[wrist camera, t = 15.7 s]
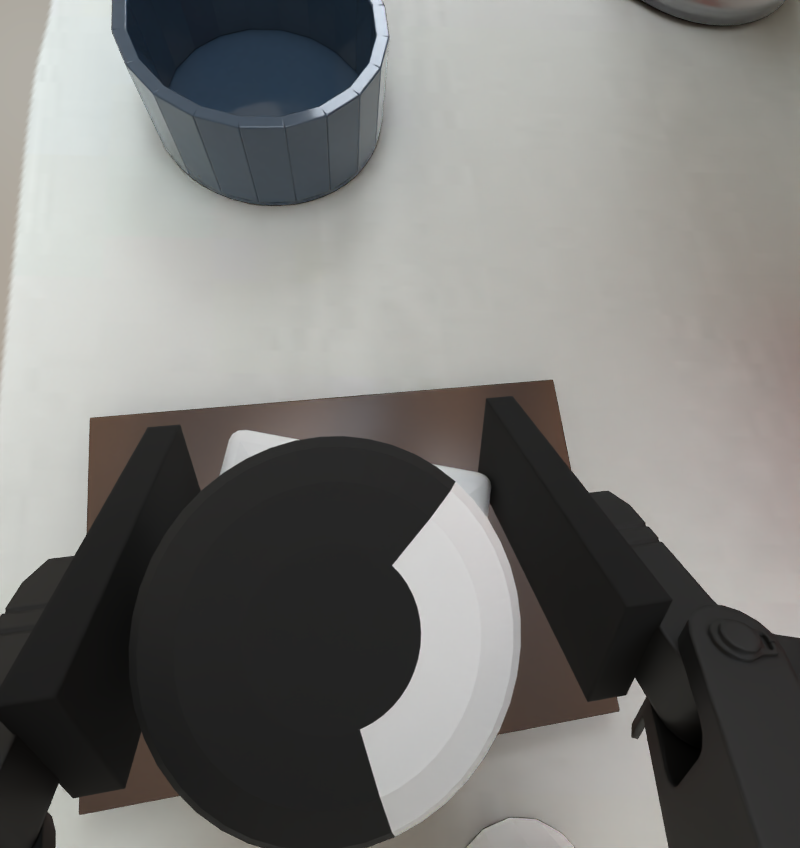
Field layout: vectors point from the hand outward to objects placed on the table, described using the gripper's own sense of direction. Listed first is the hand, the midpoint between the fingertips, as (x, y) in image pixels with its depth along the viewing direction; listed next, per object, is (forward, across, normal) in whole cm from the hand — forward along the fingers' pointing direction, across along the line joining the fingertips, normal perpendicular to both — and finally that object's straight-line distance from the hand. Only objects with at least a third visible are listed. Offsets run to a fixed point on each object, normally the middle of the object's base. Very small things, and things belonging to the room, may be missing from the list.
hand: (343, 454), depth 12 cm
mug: (+20, -2, +9) cm, 22 cm away
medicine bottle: (+2, 0, -7) cm, 8 cm away
